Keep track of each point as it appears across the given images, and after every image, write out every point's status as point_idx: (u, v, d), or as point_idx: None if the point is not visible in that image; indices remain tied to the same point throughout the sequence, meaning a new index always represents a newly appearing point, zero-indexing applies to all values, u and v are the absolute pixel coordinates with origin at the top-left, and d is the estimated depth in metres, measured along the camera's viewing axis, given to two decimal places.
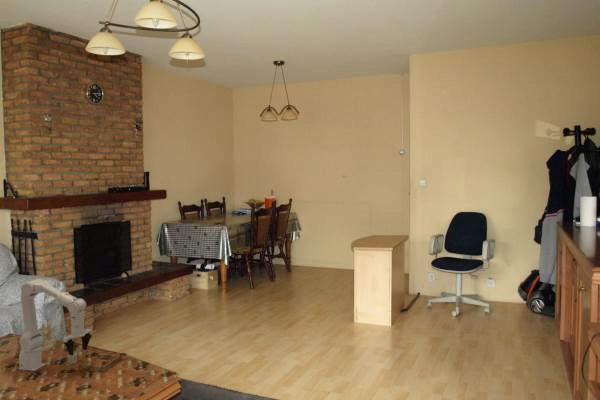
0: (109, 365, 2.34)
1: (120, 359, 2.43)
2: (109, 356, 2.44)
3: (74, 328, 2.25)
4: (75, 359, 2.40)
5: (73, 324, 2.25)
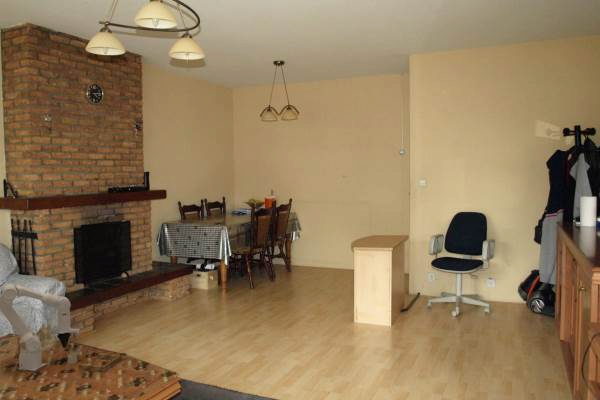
0: (109, 365, 2.34)
1: (120, 359, 2.43)
2: (109, 356, 2.44)
3: None
4: (75, 359, 2.40)
5: (64, 320, 2.39)
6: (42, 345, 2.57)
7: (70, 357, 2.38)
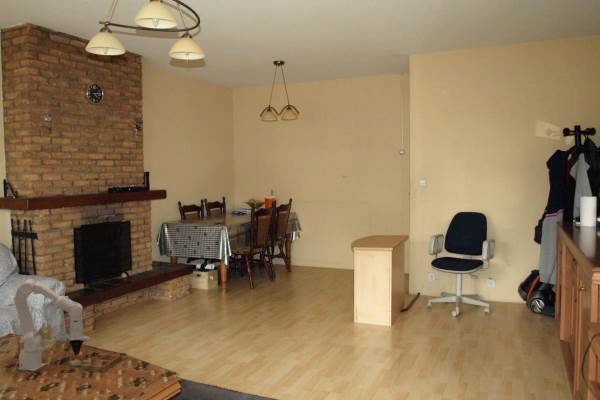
0: (109, 365, 2.34)
1: (120, 359, 2.43)
2: (109, 356, 2.44)
3: None
4: None
5: (75, 327, 2.37)
6: (42, 345, 2.57)
7: None
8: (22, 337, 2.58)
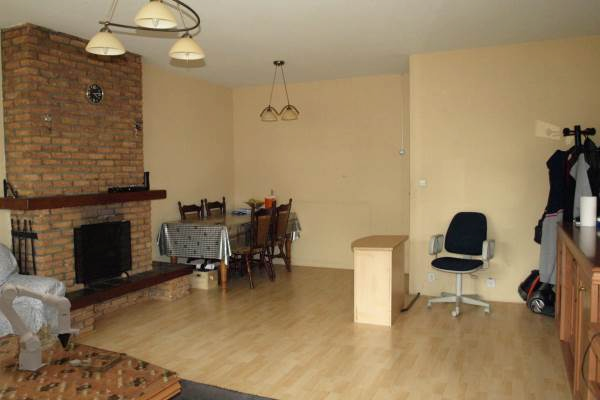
0: (109, 365, 2.34)
1: (120, 359, 2.43)
2: (109, 356, 2.44)
3: None
4: None
5: (64, 321, 2.39)
6: (42, 344, 2.58)
7: None
8: None
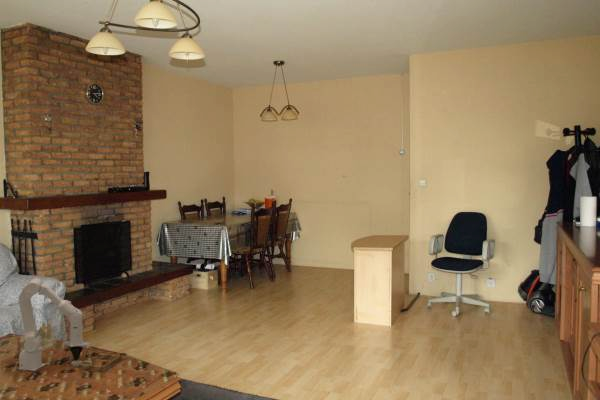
0: (109, 365, 2.34)
1: (120, 359, 2.43)
2: (109, 356, 2.44)
3: None
4: None
5: (75, 334, 2.37)
6: (42, 344, 2.58)
7: None
8: (22, 336, 2.58)
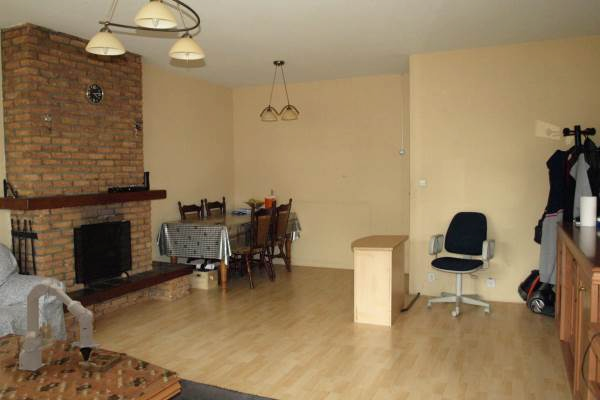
0: (109, 365, 2.34)
1: (120, 359, 2.43)
2: (109, 356, 2.44)
3: None
4: None
5: (84, 335, 2.36)
6: (42, 344, 2.58)
7: None
8: (22, 336, 2.59)
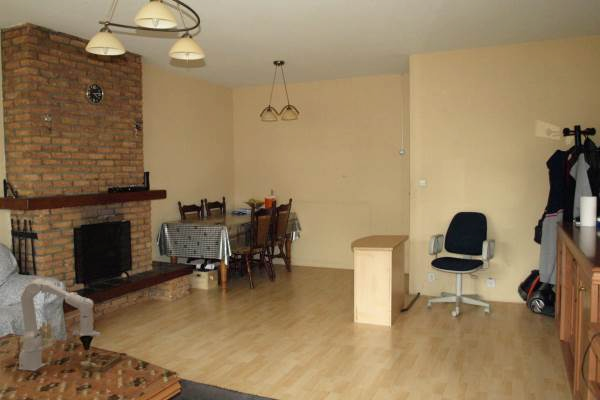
0: (109, 365, 2.34)
1: (120, 359, 2.43)
2: (109, 356, 2.44)
3: None
4: None
5: (84, 323, 2.36)
6: (42, 344, 2.59)
7: None
8: (22, 336, 2.59)
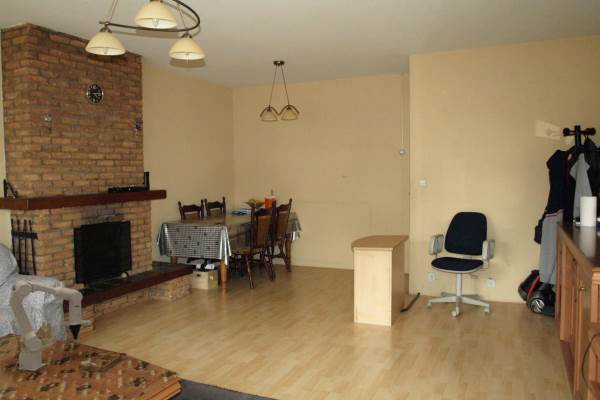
0: (109, 365, 2.34)
1: (120, 359, 2.43)
2: (109, 356, 2.44)
3: (69, 315, 2.45)
4: None
5: (76, 312, 2.44)
6: (42, 344, 2.59)
7: None
8: (22, 336, 2.59)
